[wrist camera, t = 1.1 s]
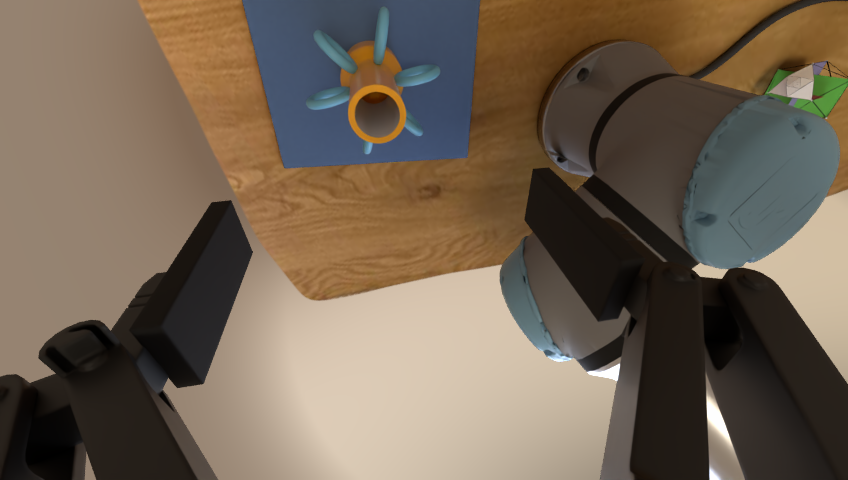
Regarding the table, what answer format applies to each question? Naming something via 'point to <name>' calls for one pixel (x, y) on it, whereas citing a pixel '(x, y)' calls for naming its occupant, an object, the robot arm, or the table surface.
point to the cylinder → (372, 86)
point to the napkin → (315, 71)
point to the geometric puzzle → (808, 89)
